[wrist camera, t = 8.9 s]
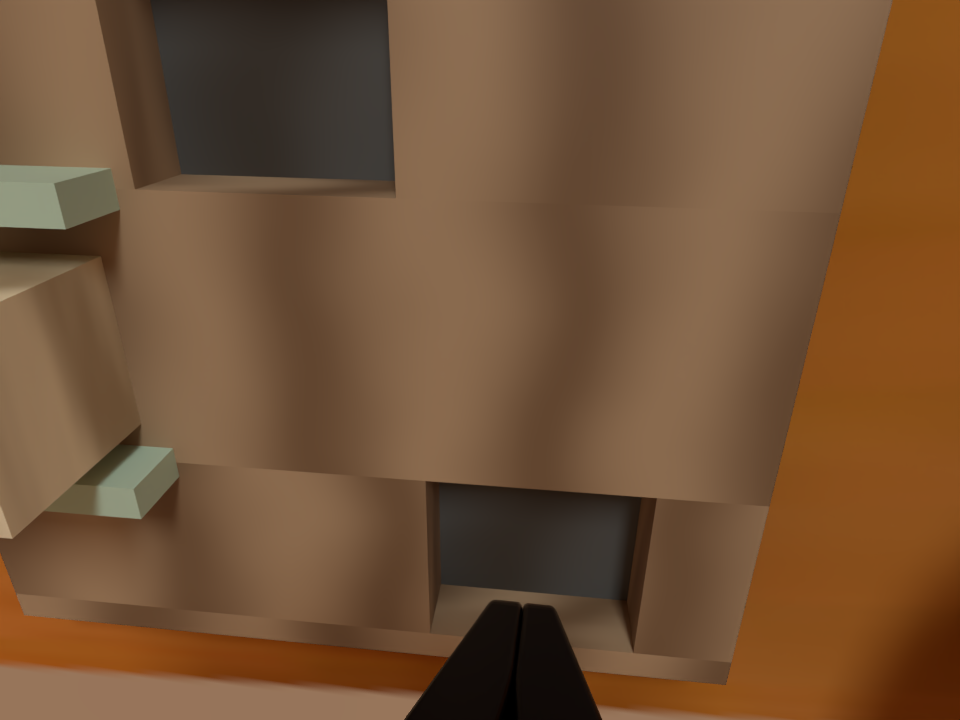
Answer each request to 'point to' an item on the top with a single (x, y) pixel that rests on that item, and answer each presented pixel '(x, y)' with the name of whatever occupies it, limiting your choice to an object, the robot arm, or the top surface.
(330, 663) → the top surface
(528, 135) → the board
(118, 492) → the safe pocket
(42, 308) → the maple block
